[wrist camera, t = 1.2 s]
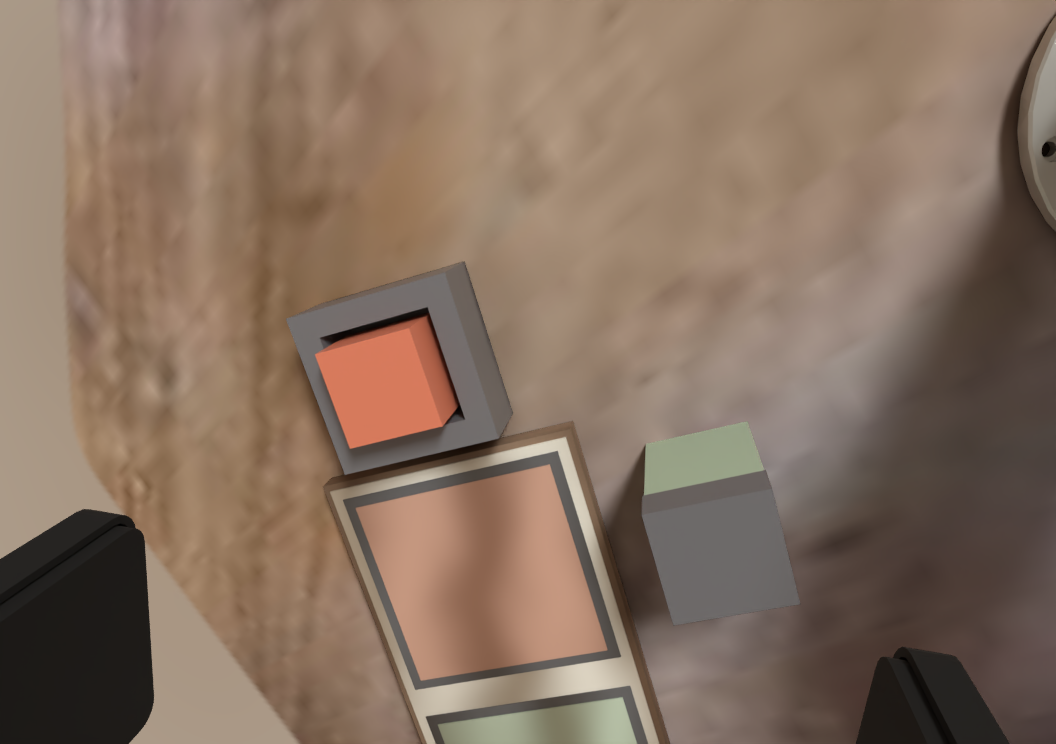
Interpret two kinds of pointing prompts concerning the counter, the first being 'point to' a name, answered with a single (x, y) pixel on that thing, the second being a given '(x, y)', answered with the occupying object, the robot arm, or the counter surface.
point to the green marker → (715, 526)
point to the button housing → (460, 344)
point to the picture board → (499, 594)
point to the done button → (389, 381)
